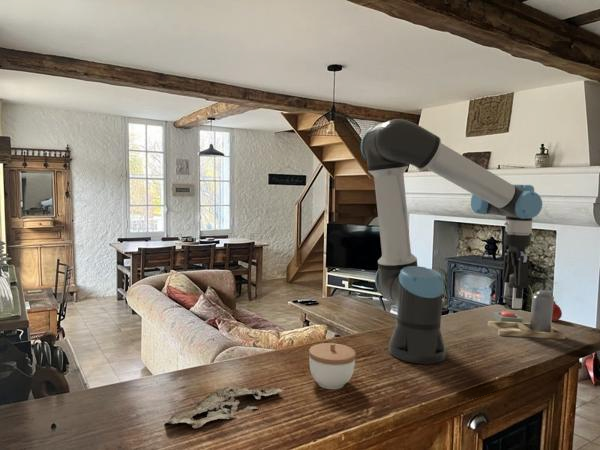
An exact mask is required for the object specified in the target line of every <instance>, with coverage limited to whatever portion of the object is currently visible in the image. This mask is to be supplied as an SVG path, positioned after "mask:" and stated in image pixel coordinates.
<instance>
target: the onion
mask: <svg viewBox="0 0 600 450" xmlns="http://www.w3.org/2000/svg"><path fill="white" fill-rule="evenodd" d="M562 315H563V312H562V309H561V308H560V306H559V305H558V304H557V303H556V301H555V300H554V303H553V313H552V322H557V321H558V320H560V319H561V317H562Z"/></svg>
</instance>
